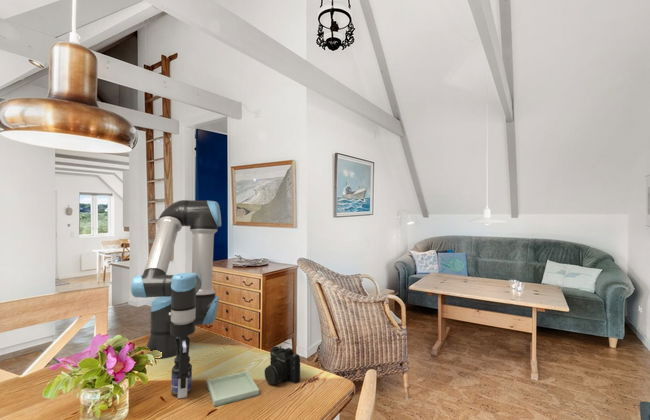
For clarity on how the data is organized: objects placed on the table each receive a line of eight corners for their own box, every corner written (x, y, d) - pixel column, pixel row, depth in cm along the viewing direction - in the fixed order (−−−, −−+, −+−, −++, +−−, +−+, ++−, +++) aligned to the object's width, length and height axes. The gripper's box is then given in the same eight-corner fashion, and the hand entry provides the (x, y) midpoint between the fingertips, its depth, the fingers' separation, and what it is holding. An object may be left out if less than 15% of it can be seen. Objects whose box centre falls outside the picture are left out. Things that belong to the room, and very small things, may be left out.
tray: (206, 385, 110) (206, 379, 110) (247, 375, 117) (247, 370, 117) (214, 406, 98) (214, 401, 98) (258, 395, 105) (259, 389, 105)
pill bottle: (183, 398, 102) (184, 363, 102) (166, 395, 104) (167, 361, 104) (195, 388, 108) (196, 355, 108) (179, 385, 110) (179, 353, 110)
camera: (254, 377, 116) (255, 349, 116) (277, 367, 124) (278, 341, 124) (279, 392, 107) (280, 362, 107) (303, 380, 115) (303, 352, 115)
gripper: (168, 314, 113) (166, 380, 113) (172, 332, 96) (170, 410, 95) (191, 311, 117) (190, 375, 116) (199, 328, 99) (197, 403, 99)
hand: (181, 391), depth 106 cm, fingers open, 7 cm apart
